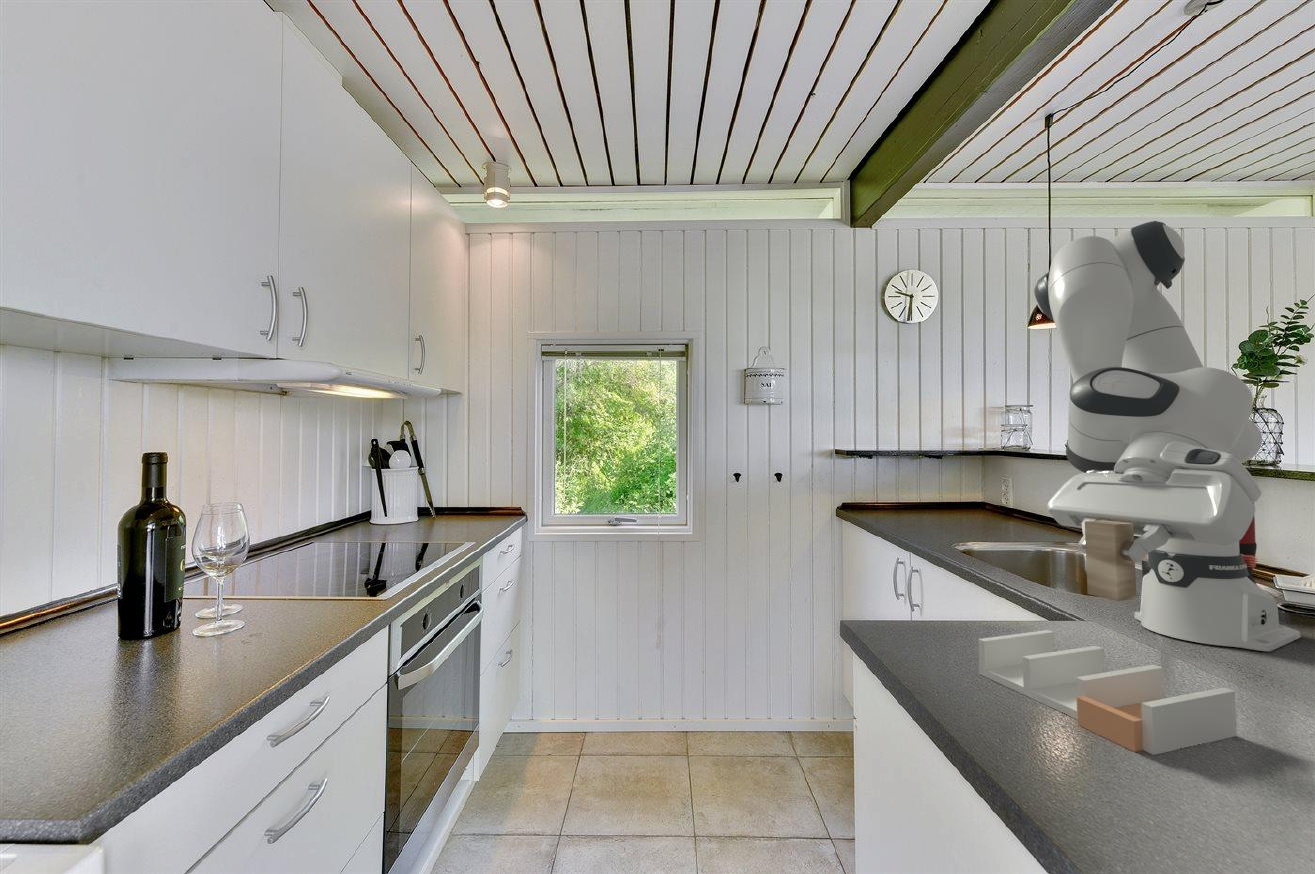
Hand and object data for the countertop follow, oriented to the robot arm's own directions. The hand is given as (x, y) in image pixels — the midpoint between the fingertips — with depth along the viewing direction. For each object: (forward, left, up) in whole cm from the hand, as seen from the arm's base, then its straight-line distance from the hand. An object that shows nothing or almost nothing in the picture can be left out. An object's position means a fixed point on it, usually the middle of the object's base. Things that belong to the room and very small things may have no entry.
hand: (1106, 554), depth 67 cm
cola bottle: (-72, -27, -20) cm, 79 cm away
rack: (-2, -4, -19) cm, 20 cm away
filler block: (-1, 0, -5) cm, 5 cm away
